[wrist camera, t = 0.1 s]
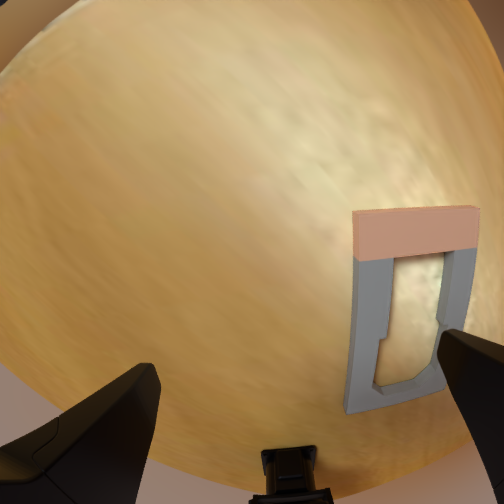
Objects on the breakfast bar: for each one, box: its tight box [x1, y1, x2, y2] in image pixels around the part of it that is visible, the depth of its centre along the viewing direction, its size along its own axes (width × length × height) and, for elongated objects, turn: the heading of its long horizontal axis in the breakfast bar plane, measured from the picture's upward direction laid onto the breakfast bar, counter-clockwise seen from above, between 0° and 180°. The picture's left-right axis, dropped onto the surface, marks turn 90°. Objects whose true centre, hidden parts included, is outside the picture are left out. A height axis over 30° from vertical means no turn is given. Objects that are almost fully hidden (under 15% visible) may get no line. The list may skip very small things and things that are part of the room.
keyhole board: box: [343, 205, 480, 415], centre depth 23 cm, size 20×12×2 cm, turn 6°
